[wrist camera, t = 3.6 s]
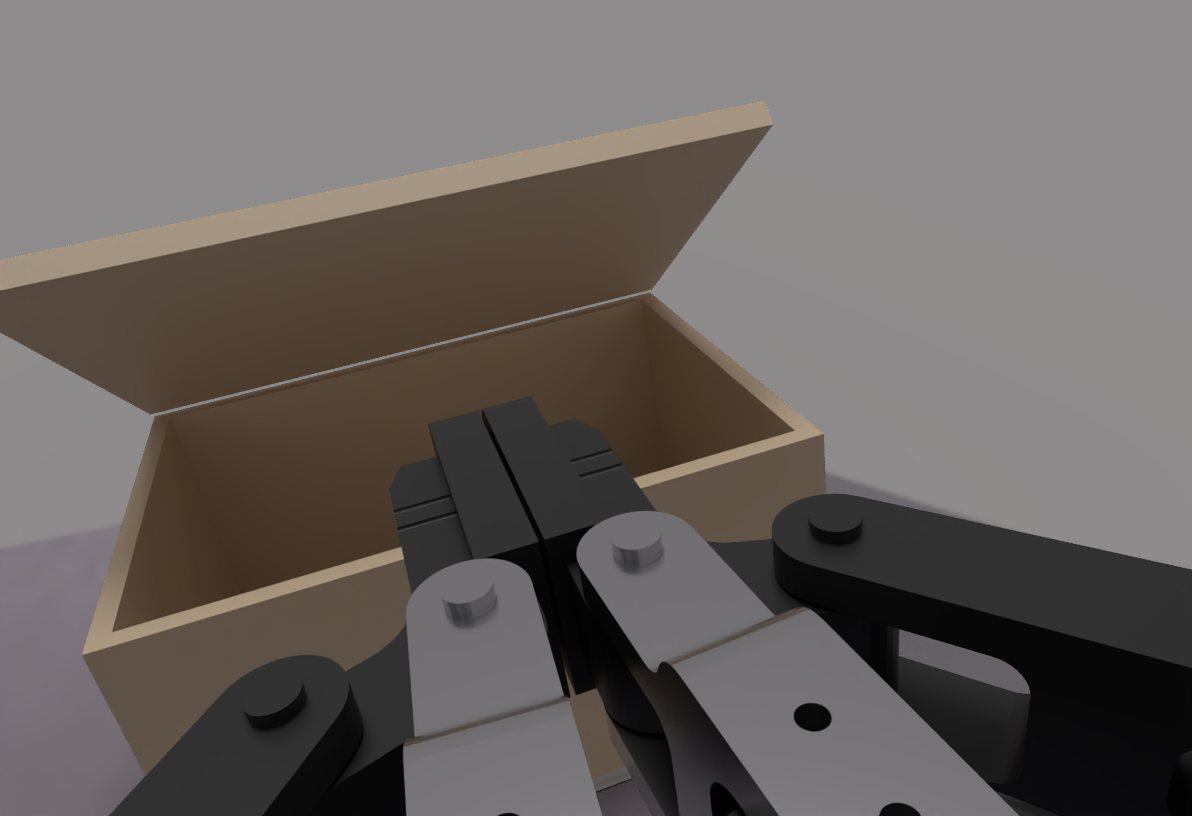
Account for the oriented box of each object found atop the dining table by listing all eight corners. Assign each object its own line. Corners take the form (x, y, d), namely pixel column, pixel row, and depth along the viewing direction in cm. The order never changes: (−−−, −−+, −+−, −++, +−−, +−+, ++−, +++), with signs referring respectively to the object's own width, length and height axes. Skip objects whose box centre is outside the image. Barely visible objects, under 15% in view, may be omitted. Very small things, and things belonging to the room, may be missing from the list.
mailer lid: (-55, 302, 17) (-63, 267, 17) (150, 414, 29) (145, 393, 29) (773, 124, 20) (763, 96, 21) (652, 289, 32) (646, 270, 32)
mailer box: (226, 928, 22) (82, 654, 18) (244, 632, 33) (154, 416, 29) (832, 704, 26) (823, 433, 22) (675, 501, 36) (649, 292, 32)
